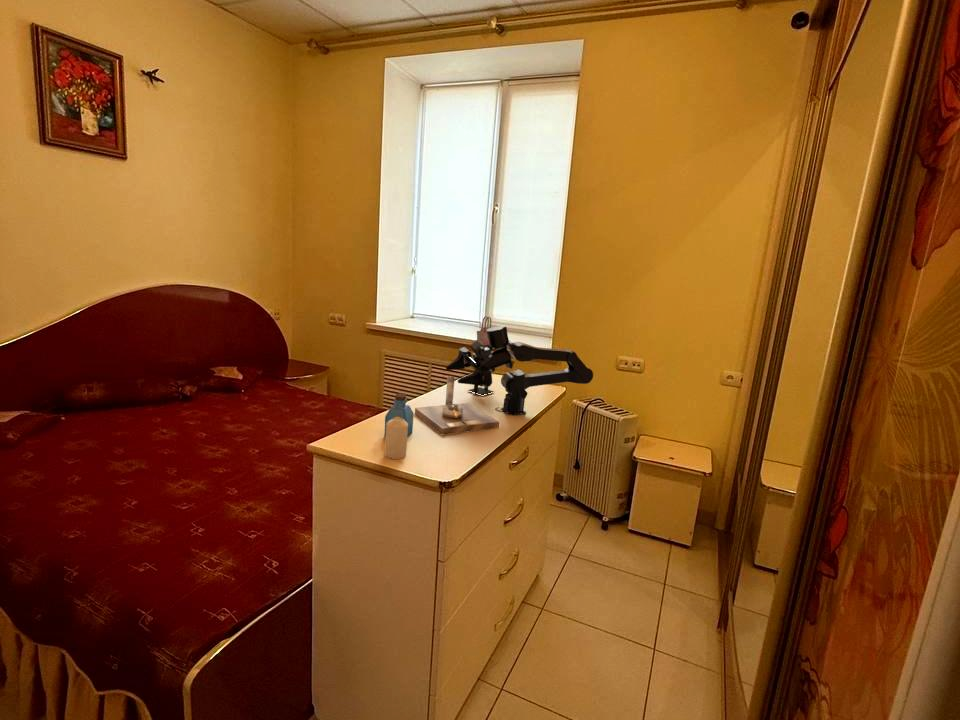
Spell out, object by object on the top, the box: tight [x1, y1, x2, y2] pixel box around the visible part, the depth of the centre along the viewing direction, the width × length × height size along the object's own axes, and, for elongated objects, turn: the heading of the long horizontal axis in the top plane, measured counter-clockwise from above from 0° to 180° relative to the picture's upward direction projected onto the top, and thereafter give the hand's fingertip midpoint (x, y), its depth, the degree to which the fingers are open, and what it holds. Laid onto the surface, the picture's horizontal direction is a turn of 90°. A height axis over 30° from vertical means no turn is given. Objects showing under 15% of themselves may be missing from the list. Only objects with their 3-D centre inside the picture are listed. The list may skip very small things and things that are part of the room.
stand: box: [414, 402, 500, 436], centre depth 159 cm, size 20×20×2 cm
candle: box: [384, 417, 408, 460], centre depth 128 cm, size 6×6×10 cm
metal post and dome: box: [442, 375, 463, 418], centre depth 157 cm, size 6×18×10 cm, turn 11°
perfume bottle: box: [383, 393, 415, 439], centre depth 141 cm, size 6×6×12 cm
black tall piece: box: [467, 315, 495, 395], centre depth 190 cm, size 10×8×30 cm
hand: (451, 375), depth 161 cm, fingers open, 9 cm apart
